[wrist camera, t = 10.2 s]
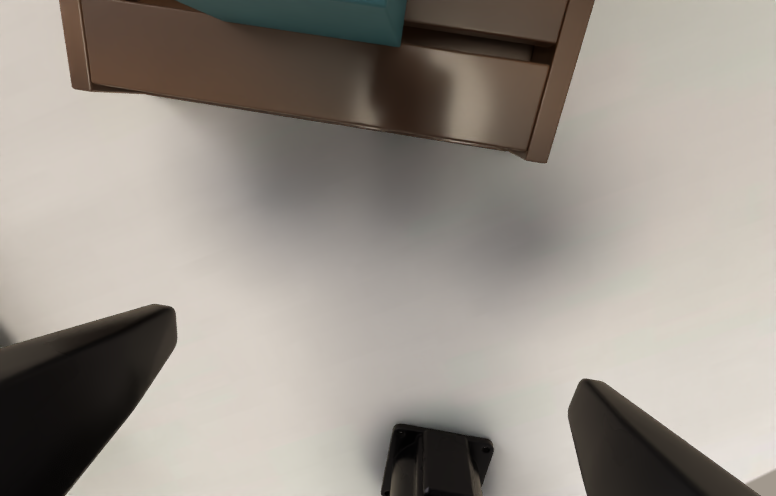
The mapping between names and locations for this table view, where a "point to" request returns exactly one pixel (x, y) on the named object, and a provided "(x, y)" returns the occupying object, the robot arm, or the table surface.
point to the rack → (349, 67)
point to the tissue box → (316, 17)
